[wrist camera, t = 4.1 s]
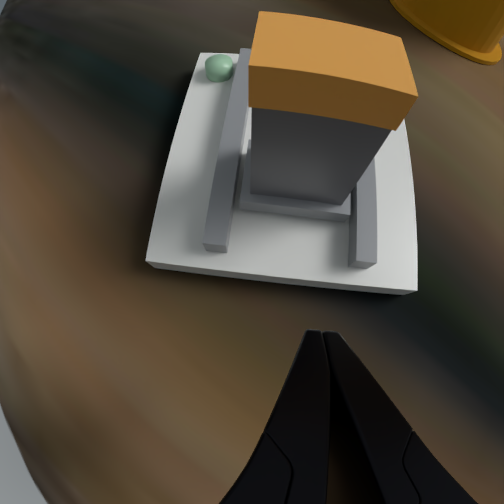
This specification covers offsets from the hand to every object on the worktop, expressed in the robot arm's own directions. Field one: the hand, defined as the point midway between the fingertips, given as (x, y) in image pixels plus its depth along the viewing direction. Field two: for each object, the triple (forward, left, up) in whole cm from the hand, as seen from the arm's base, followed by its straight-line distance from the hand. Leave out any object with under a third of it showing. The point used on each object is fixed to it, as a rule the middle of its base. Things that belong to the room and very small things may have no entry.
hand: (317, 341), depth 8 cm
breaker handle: (+8, -3, -9) cm, 13 cm away
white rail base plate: (+11, -4, -11) cm, 16 cm away
